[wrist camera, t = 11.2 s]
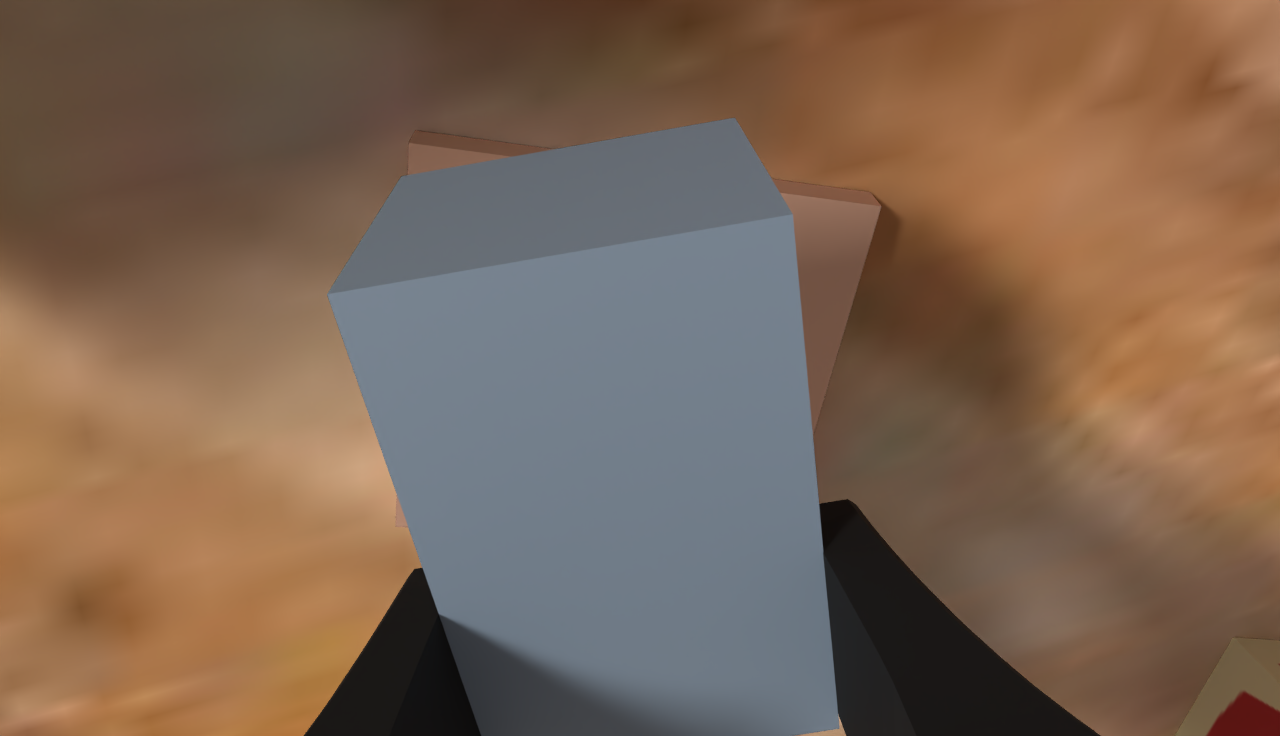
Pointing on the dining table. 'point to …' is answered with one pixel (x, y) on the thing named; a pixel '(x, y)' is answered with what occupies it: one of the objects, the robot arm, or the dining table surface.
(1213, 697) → the milk carton
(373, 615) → the dining table surface
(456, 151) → the tile
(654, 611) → the block
